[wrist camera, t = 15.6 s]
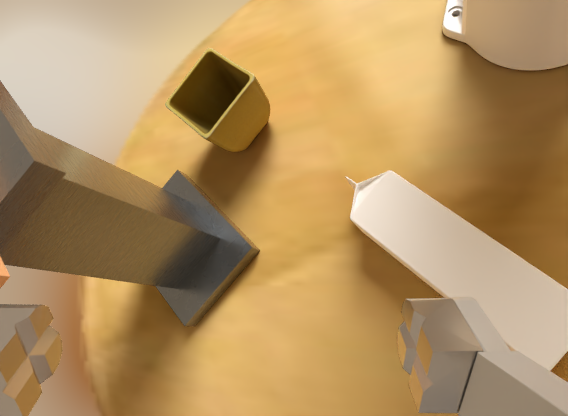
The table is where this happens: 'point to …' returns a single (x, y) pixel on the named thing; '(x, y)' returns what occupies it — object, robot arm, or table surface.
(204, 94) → the flower pot
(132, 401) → the table surface
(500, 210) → the table surface
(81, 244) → the pedestal
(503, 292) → the milk
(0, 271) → the orange-brown square bar
